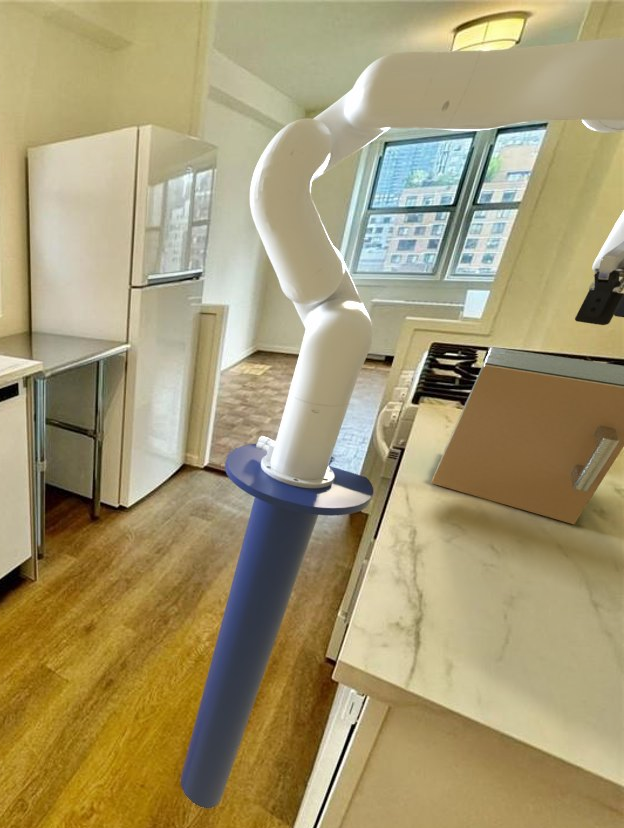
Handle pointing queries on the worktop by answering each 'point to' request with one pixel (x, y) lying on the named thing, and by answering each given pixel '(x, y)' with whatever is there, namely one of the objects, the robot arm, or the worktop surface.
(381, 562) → the worktop surface
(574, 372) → the mini fridge
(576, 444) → the fridge door
